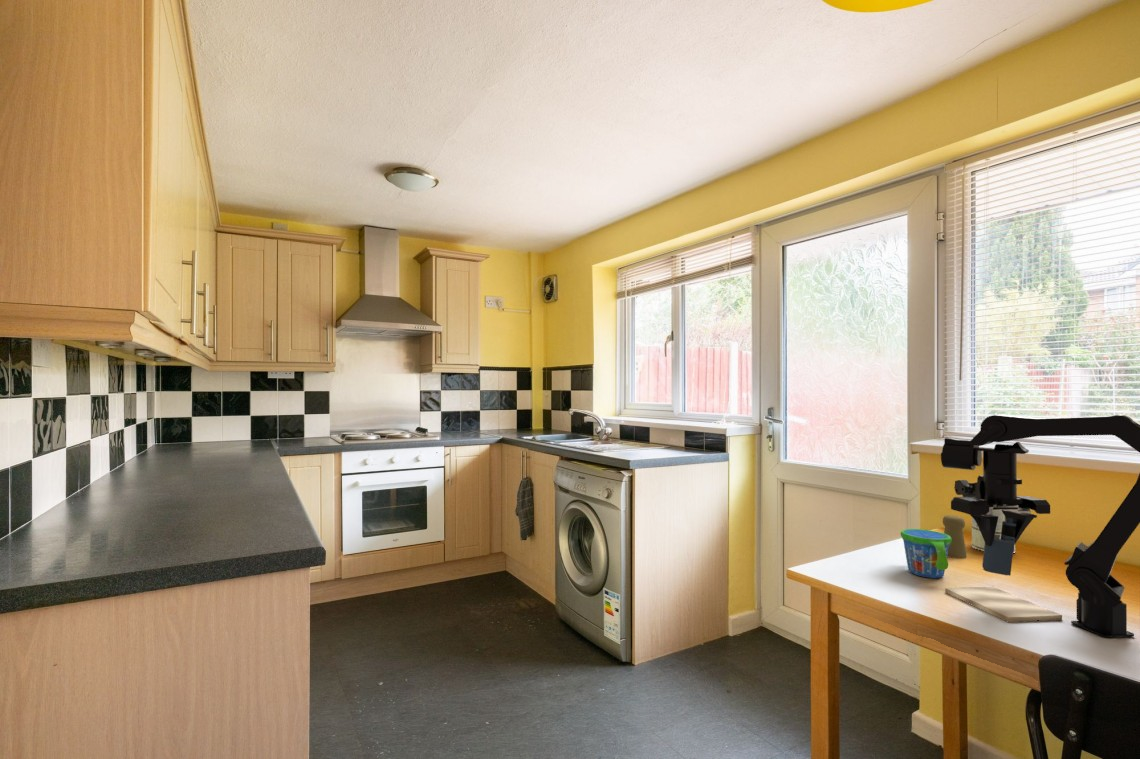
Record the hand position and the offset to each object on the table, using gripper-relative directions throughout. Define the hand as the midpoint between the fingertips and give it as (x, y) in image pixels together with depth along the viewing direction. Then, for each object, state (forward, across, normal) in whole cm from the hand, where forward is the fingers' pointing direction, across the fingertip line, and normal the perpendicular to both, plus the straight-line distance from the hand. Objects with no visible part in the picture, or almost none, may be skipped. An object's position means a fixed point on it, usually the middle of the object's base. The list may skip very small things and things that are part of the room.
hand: (1000, 545), depth 118 cm
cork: (+13, -19, -34) cm, 41 cm away
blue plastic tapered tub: (+13, +1, -20) cm, 24 cm away
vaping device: (+6, +1, 0) cm, 6 cm away
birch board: (+13, 0, 0) cm, 13 cm away
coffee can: (+13, -35, -38) cm, 53 cm away
